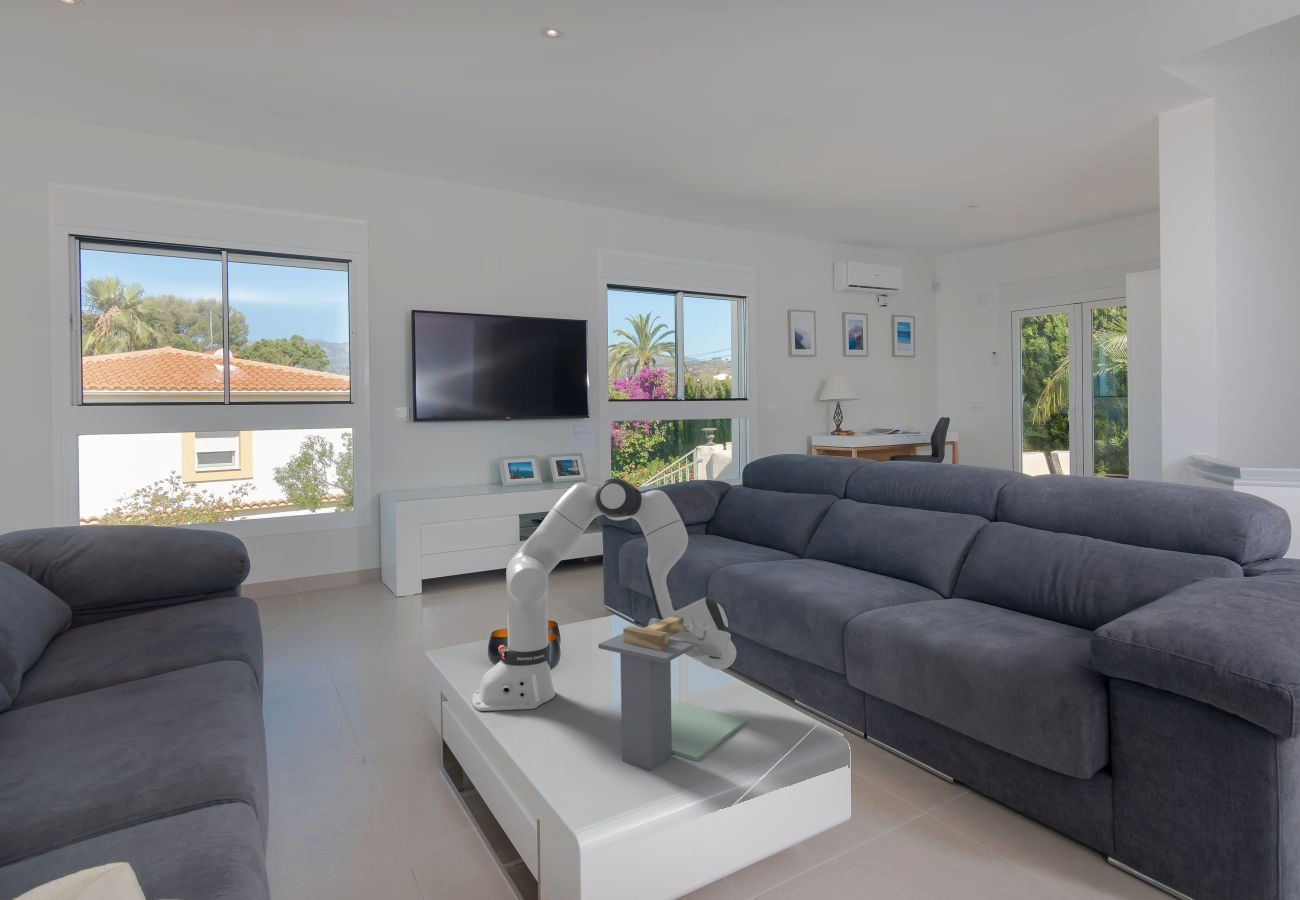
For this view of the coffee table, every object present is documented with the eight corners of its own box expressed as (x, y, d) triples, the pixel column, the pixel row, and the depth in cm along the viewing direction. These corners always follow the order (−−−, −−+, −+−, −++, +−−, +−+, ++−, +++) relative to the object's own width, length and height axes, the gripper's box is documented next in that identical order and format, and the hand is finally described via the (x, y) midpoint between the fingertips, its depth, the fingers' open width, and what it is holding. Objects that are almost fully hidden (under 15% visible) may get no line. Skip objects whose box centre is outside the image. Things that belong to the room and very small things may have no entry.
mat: (679, 704, 188) (679, 701, 188) (746, 722, 176) (746, 718, 176) (625, 738, 168) (625, 735, 168) (696, 761, 157) (696, 757, 157)
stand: (629, 738, 168) (627, 631, 167) (694, 759, 158) (692, 644, 156) (600, 757, 159) (598, 643, 158) (666, 780, 149) (665, 658, 147)
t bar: (660, 625, 171) (660, 613, 171) (696, 632, 165) (696, 619, 165) (623, 642, 159) (623, 628, 159) (660, 649, 153) (660, 636, 153)
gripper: (666, 621, 183) (639, 605, 173) (736, 635, 171) (712, 618, 161) (660, 645, 181) (632, 630, 171) (730, 660, 169) (705, 645, 159)
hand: (671, 625), depth 166 cm, fingers open, 8 cm apart
